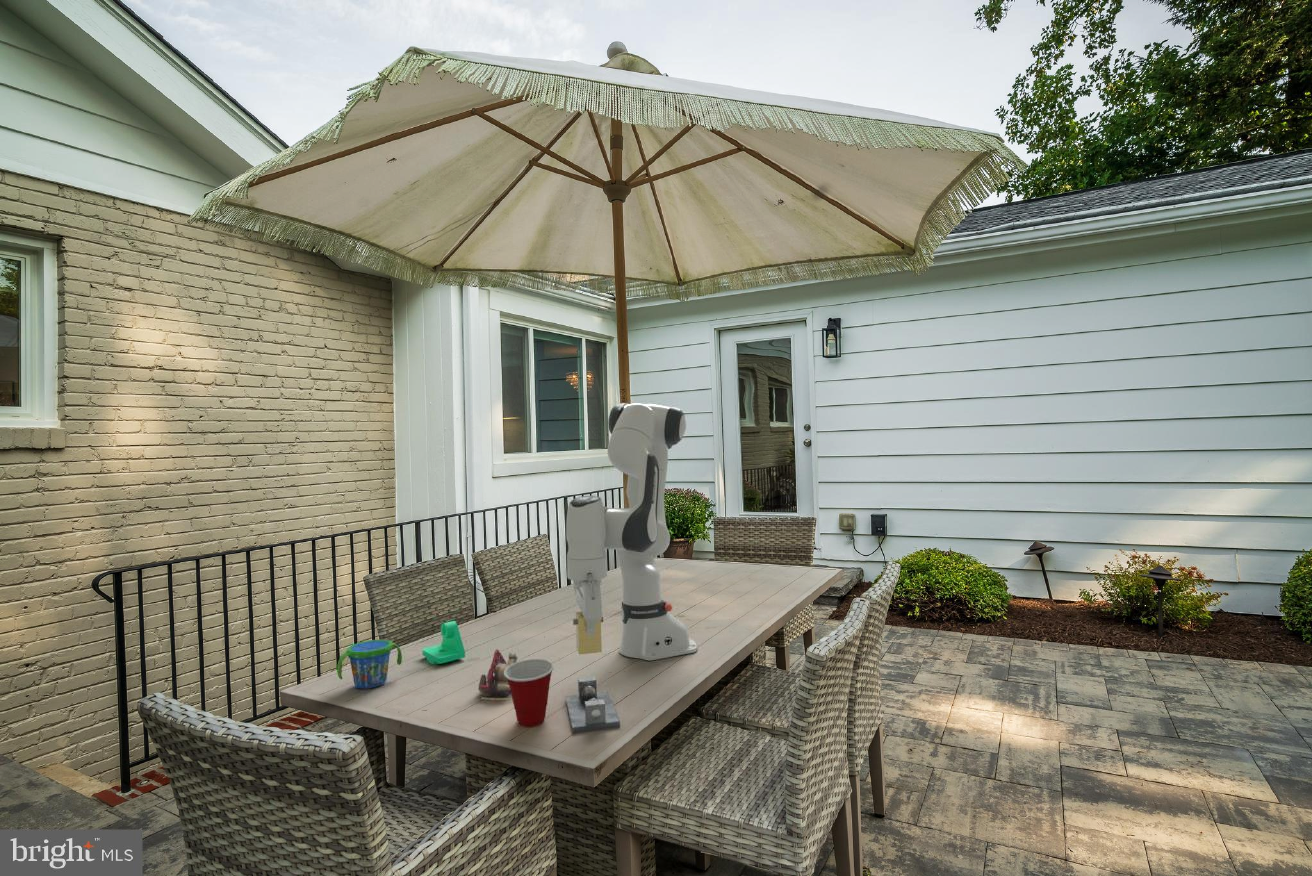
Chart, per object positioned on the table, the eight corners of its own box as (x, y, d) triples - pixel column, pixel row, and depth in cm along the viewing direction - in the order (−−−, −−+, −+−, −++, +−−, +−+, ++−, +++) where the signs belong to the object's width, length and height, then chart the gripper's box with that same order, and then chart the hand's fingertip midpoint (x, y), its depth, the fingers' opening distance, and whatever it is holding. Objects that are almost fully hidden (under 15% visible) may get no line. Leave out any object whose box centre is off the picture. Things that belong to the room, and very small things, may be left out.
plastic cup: (495, 729, 136) (493, 673, 136) (523, 708, 146) (521, 656, 146) (539, 736, 132) (537, 678, 132) (564, 714, 142) (562, 660, 142)
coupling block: (602, 645, 145) (601, 609, 145) (605, 651, 140) (604, 615, 140) (573, 647, 143) (572, 612, 144) (575, 654, 139) (574, 618, 139)
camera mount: (421, 658, 184) (420, 623, 184) (446, 651, 190) (445, 617, 190) (439, 668, 176) (438, 631, 176) (465, 660, 181) (464, 624, 181)
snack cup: (397, 671, 173) (396, 634, 173) (407, 682, 165) (406, 643, 165) (334, 686, 164) (332, 647, 164) (341, 698, 156) (340, 657, 156)
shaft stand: (608, 696, 151) (607, 674, 151) (620, 727, 135) (619, 702, 135) (565, 701, 149) (565, 679, 149) (572, 733, 132) (571, 708, 132)
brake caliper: (482, 674, 163) (506, 639, 162) (514, 699, 161) (538, 664, 160) (463, 690, 152) (489, 653, 151) (497, 718, 151) (523, 680, 150)
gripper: (608, 577, 133) (610, 643, 132) (595, 560, 152) (596, 618, 152) (577, 579, 131) (579, 646, 131) (568, 562, 151) (570, 620, 151)
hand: (588, 631), depth 142 cm, fingers closed on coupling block, 5 cm apart
